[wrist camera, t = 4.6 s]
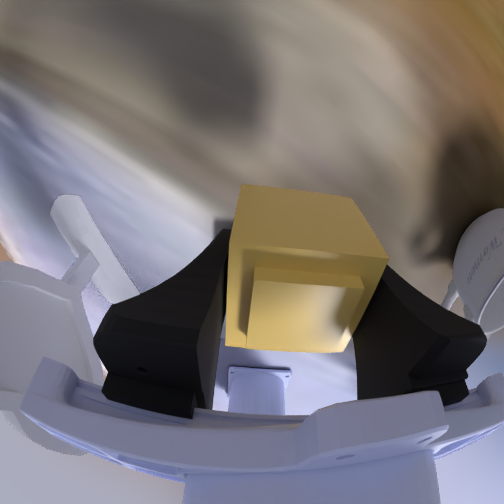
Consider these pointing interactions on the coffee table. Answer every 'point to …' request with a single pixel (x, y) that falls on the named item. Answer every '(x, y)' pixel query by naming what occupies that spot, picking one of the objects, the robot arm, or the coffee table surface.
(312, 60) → the coffee table surface
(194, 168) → the coffee table surface
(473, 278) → the teacup
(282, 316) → the ochre brick
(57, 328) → the heart sculpture
